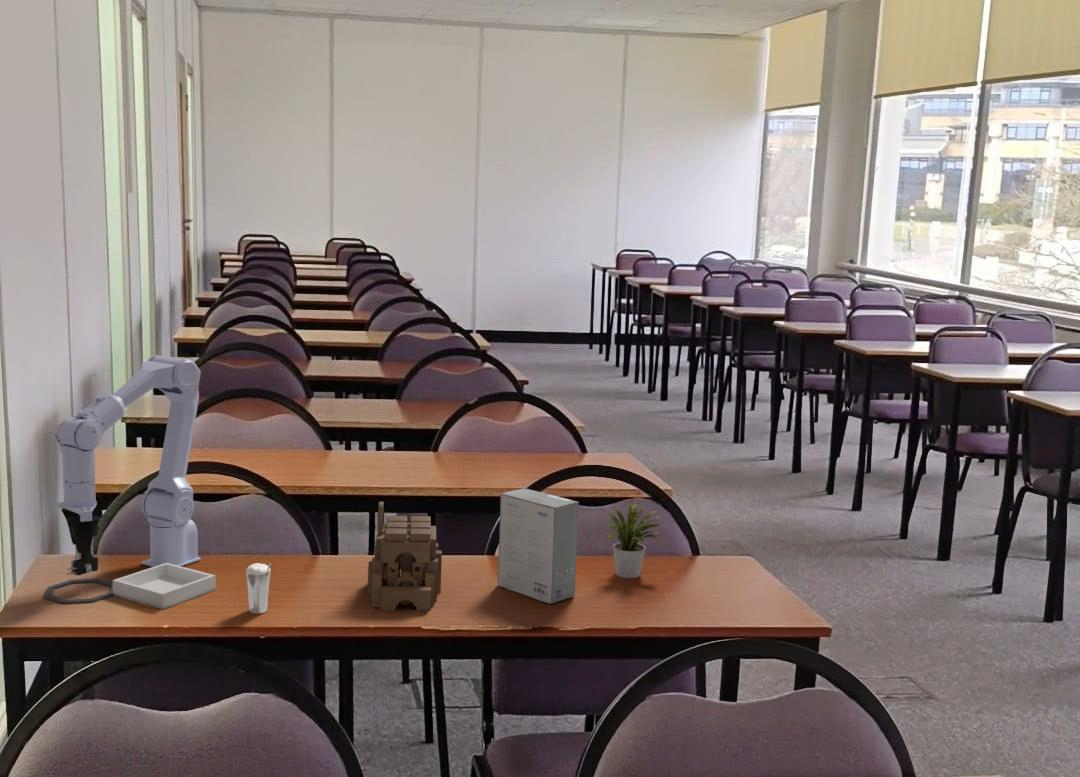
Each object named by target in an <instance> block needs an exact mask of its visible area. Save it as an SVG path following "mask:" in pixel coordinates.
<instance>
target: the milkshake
mask: <svg viewBox="0 0 1080 777" xmlns="http://www.w3.org/2000/svg"><path fill="white" fill-rule="evenodd" d="M271 565H272V563H268V565H267V564H265V563H258V562H255V563H253V564H250V565H248V567H247V568H246V569H245V574H246V584H247V595H248V596H247V597H248V608H249V609H248V610H249V612H250V613H251V614H255V615H256V614H264V613H266V612H267V611H268V605H269V604H268V603H269V591H270V590H269V589H270V581H271Z"/></svg>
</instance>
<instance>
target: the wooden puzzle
mask: <svg viewBox="0 0 1080 777" xmlns="http://www.w3.org/2000/svg"><path fill="white" fill-rule="evenodd" d="M384 504H385V502H384V501H378V513H377V515H378V516H377V530H376V536H375V542H374V557H372V558H371V560H369V561H368V567H367V595H369V596H370V597H371V598H370V601H371V607H373V608H377V607H379V608H380V611H395V610H396V607H399V603H400V605H406V606H407V605H409V606H410V604H411V603H412V607H415V608H416V611H418V612H419V611H423V612H424V611H427V612H428V611H431V609H432V608H431V607H434V606H435V603H436V602H438V594H440V593H441V590H442V588H441V587H442V561H443V560H442V557H443V553H442V550H439V543H438V542H437V526H436V525H432V520H431V519H432V518H431V516H429V515H422V516H421V515H411V516H410V517H409V519H408V516H406V515H387V516H386V522H384V512H385V511H384V510H385V509H384V508H385V507H384ZM408 520H409V522H408ZM434 602H435V603H434Z"/></svg>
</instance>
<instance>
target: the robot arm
mask: <svg viewBox="0 0 1080 777" xmlns="http://www.w3.org/2000/svg"><path fill="white" fill-rule="evenodd" d="M140 368H141V369H140V370H139V371H138V372H135V374H134V375H133V376H131V378H130V379H129V380H127V381H126V382H125V383H124V384H122V386H120V388H118V389H117V390H116V391H115V392H114V393H113V394H108V393H107V394H106V393H105V394H103V395H101V394H99V395H97V396H96V397H95V398H94V401H93V402H92V403H91V404H89V405H88V406H87V407H85V408H84V409H83V410H82V409H81V410H79V411H78V412H77V414H76V415H75V416H74V417H72V416H71V417H66V418H64V419H63V420H62V421H61V422H60V423H59V424H58V426H57V429H56V432H54V435H53V436H54V439H55V441H56V443H57V444H58V446H59V450H60V453H61V456H62V482H63V484H62V485H63V486H62V487H63V490H62V491H63V502H62V501H61V502H57V503H56V505H57V506H56V507H57V508H58V509H61V510H60V511H61V512H62V514H63V516H64V518H65V519H66V520H65V522H66V523H67V527H68V531H69V535H70V539H71V542H72V545H74V546H75V544H76V548H77V551H78V553H85V552H90V548H91V544H92V538H93V534H94V531H95V528H96V526H97V525H98V524H99V522H100V516H98V515H97V516H93V511H94V509H95V508H96V507H97V505H98V502H97V500H96V468H95V467H96V464H95V463H96V461H95V460H96V459H95V458H96V457H95V448H96V447H97V446H99V444H100V442H101V439H102V436H103V435H104V434H105V432H106V431H107V430H109V429H110V428H111V427H112V426H114V425H115V424H116V423H117V422H119V420H121V419H123V417H124V416H125V409H126V408H127V407H128V406H130V405H131V404H132V403H134V402H135V401H136V400H139V399H140V398H141V397H143V396H144V395H146V394H147V393H148V392H150V391H151V390H153V389H158V390H159V391H161V392H162V393H163V394H164V395H165V396H166V398H167V399H168V400H169V402H170V404H169V405H170V406H169V409H168V410H169V412H168V419H167V422H166V430H165V434H164V435H165V436H164V441H163V447H162V452H161V458H160V465H159V469H158V474H157V476H156V477H155V478H154V479H152V480H151V481H149V483H148V485H147V490H146V492H145V494H144V496H143V498H142V500H141V510H142V513H143V514H144V516H146V517H147V522H148V523H149V533H150V534H149V539H150V543H149V547H150V552H149V553H150V554H149V555H150V558H148V559H146V560H143V561H141V562H140V563H141V565H143V566H144V565H145V566H148V567H150V568H152V567H155V566H158V565H161V564H164V563H170V564H174V565H178V566H181V567H184V566H186V565H189V564H192V563H195V562H198V561H201V560H202V559H201V558H202V557H199V551H198V549H199V545H198V543H199V542H198V540H199V538H198V537H199V536H198V535H199V534H198V528H197V526H196V523H195V522H194V520H192V516H193V514H194V509H195V503H194V489H193V487H192V486H191V485H190V484H189V482H188V481H187V479H186V478H187V471H188V465H189V460H190V454H191V453H190V452H191V448H192V443H193V442H192V440H193V435H194V430H195V424H196V418H197V412H198V407H199V401H200V392H199V385H200V379H201V373H202V370H200V368H199V367H198V366H197V364H196V363H195V361H193V360H192V359H190V358H180V357H179V358H177V357H171V356H166V355H165V356H164V355H162V354H154V355H152V356H150V357H149V358H148V360H146V361H143V362H142V363H141V367H140ZM70 527H71V528H72V531H73V534H74V537H73V536H71V531H70ZM93 539H94V538H93Z"/></svg>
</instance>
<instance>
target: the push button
mask: <svg viewBox="0 0 1080 777" xmlns="http://www.w3.org/2000/svg"><path fill="white" fill-rule="evenodd" d="M99 529H100V526H99V525H98V524H97V526H96V528H95V531H94V534H93V538H92V544H91V548H90V552H85V553H78V551H77V548H76V544H75V545H74V547H75V548H74V549H75V552H74V553H75V556H74V559H73V560H71V563H70V565H71V566H70V567H68V568H67V569H66V570H67V571H70V572H68V573H66V575H67V576H69V575H70V576H71V575H75V576H81V575H85V574H90V573H91V574H92V572H97V571H98V570H99V558H98V557H96V556H94V537H96V536H98V534H99V532H98V531H99ZM70 531H71V536H73V537H74V534H73V531H72V528H71V527H70ZM70 531H69V532H70ZM71 536H70V537H71Z"/></svg>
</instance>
